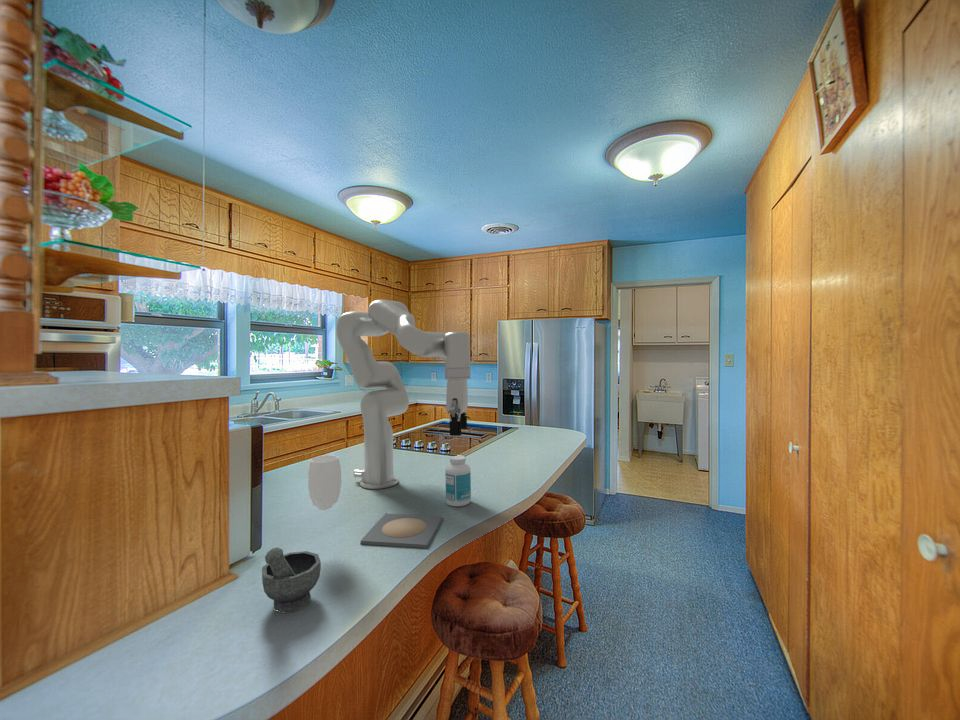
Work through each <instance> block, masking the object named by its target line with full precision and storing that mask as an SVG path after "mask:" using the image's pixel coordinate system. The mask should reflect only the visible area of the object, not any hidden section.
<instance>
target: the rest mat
mask: <svg viewBox="0 0 960 720" xmlns="http://www.w3.org/2000/svg"><path fill="white" fill-rule="evenodd" d="M382 515H383V516H381V517H380V518H379V519H378V521H377V522H376V523H375V524H374V525H373V526H372V527H371V529H370V530H369V531H368V532H367V533H366V534H365V535H364V536H363V537H362V538H361V540H360V545H370V546H386V547H403V548H404V547H405V548H417V549H418V548H419V549H428V547H429V545H430V543H432V542H431V541H432V540H433V538H434V536H435V534H436V532H437V531H438V529H439V527H440V525H441V523H442V522H443V520H442V519H444V517H443V515H442V516H441V515H425V514H405V513H387V512H386V513H384V514H382Z"/></svg>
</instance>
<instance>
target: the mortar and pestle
mask: <svg viewBox="0 0 960 720" xmlns="http://www.w3.org/2000/svg"><path fill="white" fill-rule="evenodd" d="M264 561H265V563H266V564H265V565H263V566H262V567H261V579H262V581H261V582H262V587H263V592H264V593H265V595H266V596H267V597H268V598H269V599H270V600H272V601H273V610H274V609H275V610H278V611H280V612H282V613H281V614H284V613H283V612H289V613H295V612H296V611H299V610H301V609H302V608H303V609H304V608H305V607H306V606H307V605H308V604H309V603H310V602H311V598H312V596H311V591H312V590H313V589H314V587H315V586H316V585H317V583H318V581H319V579H320V575H321V568H322V567H321V566H322V565H321V559H320V556H319V554H318V553H315V552H311V551H307V550H306V551H303V550H302V551H295V552H287V553H285V554H284V551H283V549H282V548H280V547H278V546H277V547H274V548H271V549H270V550H269V551H268V552H267V553H266V554H265V556H264ZM300 608H301V609H300ZM294 611H295V612H294ZM280 612H279V613H280Z"/></svg>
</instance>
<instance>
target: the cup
mask: <svg viewBox="0 0 960 720" xmlns="http://www.w3.org/2000/svg"><path fill="white" fill-rule="evenodd" d="M308 463H309V464H308V471H307V489H308V493H309V499H310V501H311V504H312V505H313V506H314V507H316V508H317V509H319V510H321V511H327V510H329V509H331V508H332V507H333V505H335V504H336V503H337V502H338V501H339V497H340V494H341V488H342V467H341V464H340V463H341V462H340V457H339V456H337V455H331V454H328V455H318V456H315V457H312V458H311V459H310V460H309V462H308Z"/></svg>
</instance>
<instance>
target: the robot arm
mask: <svg viewBox="0 0 960 720" xmlns="http://www.w3.org/2000/svg"><path fill="white" fill-rule="evenodd" d="M335 329H336V336H337V340H338V343H339V345H340V347H341V349H342V351H343V352H344V354H345V356H346V359H347V361H348V364H349V367H350V370H351V372H352V375H353V377H354V379H355V383H356V384H357V386H358V388H359V389H362V390H371V391H369V392H367V393H365V394H364V395H363V396H362V397H361V400H360V405H359V406H360V411H361V415H362V422H363V423H362V424H363V441H364V442H363V444H364V445H363V449H364V453H363V456H364V460H363V461H364V464H363V465H364V468H363V470H361V469H354V471H353V476H354V478H360V481H359V485H360V486H361V488H364V489H368V490H369V489H370V490H379V489H380V490H381V489H387V488H390V487H394V486H395V485H397V484H398V482H399V478H398V476H396V475H394V430H393V426H392V424H391V423H390V420H389V418H390V417H395V416H399V415H402V414H405V412H406V411H407V410H408V409H409V403H410V400H409V395H408V392H407V390H406V387H405V385H404V383H403V380H402V378H401V375H400V373H399V369H398V368H397V367H396V366H395V365H394V364H393V363H392V362H389V361H383V360H382V361H377V360H376V358H375V356H374V354H373V352H372V349H371V347H370V346H369V345H368V343H366V341H365V340H363V339H362V338H361V337H382V336H385V335H387V334H388V333H391V334H392V335H394V336H395V337H396V340H397V342H398V345H400V346H401V347H402V348H404V349H405V350H406V351H408V352H410V353H411V354H413V355H415V356H418V357H420V358H444V379H445V380H446V381H447V382H446V397H445V399H446V401H445V403H446V405H445V406H446V407H445V409H446V410H445V413H447V414H449V435H450V436H452V437H453V436H454V437H455V436H457V437H459V436H461V435H462V430H467V429H468V416H467V410H468V407H469V406H468V401H469V399H468V398H469V396H468V380H471V379H472V378H471V337H470V334H469V333H468V332H465V331H450V332H449V331H448V332H438V331H437V332H436V331H424V330H421V329H420V328H417V327H416V319H415V317H414V315H413V314H411V313H410V311H409V308H408V307H407V305H405V304H404V303H403V302H401V301H398V300H396V301H395V300H389V299H376V300H373V301H372V302H371V303H370V304H369V306H368V307H367V312H365V311H357V310H355V311H348V312H344V313H343V314H341V315H340V316H339V318H338V319H337V323H336V327H335ZM375 389H376V390H375ZM377 389H379V390H377Z"/></svg>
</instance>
